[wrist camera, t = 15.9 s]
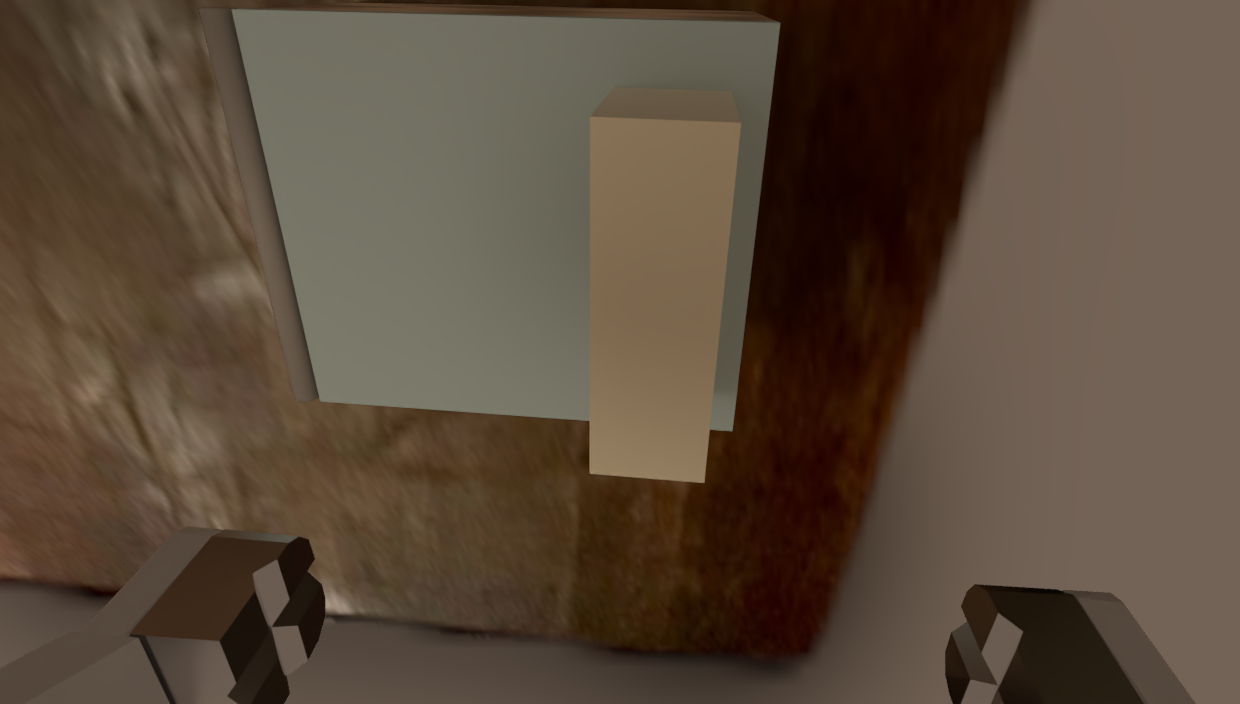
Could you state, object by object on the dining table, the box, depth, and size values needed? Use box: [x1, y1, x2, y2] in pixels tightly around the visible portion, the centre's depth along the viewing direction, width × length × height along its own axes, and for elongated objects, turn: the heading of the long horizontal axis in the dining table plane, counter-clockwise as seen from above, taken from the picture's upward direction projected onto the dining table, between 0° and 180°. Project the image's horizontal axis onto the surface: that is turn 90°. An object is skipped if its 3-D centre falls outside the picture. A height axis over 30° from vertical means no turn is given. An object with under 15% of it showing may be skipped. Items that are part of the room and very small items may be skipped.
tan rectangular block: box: [590, 87, 741, 483], centre depth 18 cm, size 3×9×4 cm, turn 179°
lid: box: [198, 8, 780, 431], centre depth 20 cm, size 15×12×1 cm
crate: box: [258, 2, 775, 21], centre depth 24 cm, size 14×12×7 cm
